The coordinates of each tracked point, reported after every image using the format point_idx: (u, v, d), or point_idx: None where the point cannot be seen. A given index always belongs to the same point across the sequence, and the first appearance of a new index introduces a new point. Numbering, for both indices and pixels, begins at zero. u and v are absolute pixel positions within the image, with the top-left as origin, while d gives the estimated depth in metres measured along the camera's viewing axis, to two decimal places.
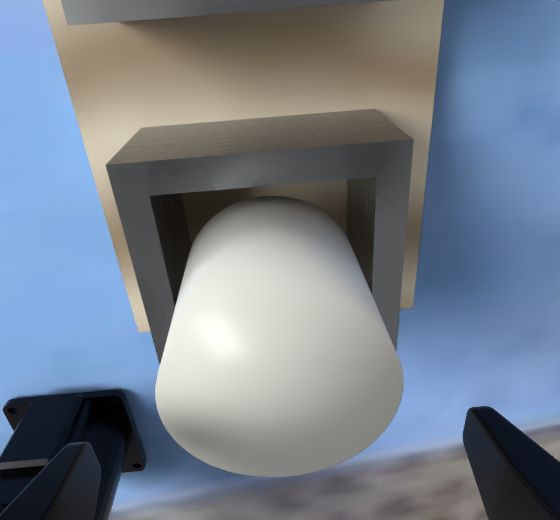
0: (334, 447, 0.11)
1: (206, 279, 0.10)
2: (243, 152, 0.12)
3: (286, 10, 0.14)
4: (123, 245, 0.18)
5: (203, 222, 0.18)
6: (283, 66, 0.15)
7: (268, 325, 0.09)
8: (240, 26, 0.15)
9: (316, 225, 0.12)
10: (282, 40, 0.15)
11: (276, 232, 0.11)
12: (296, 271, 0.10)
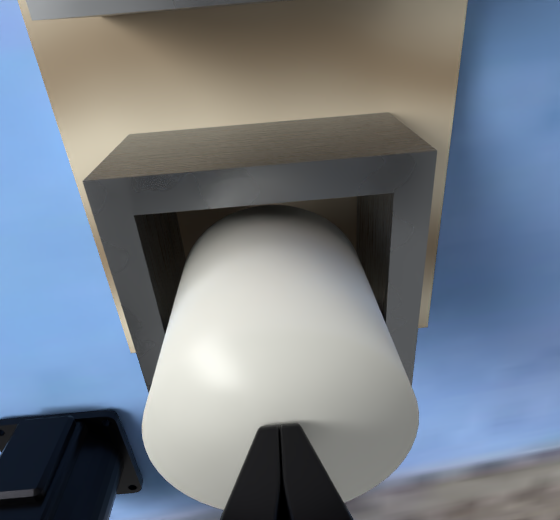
0: (341, 485, 0.10)
1: (199, 302, 0.09)
2: (241, 166, 0.11)
3: (290, 2, 0.13)
4: None
5: (199, 236, 0.16)
6: (287, 65, 0.14)
7: (268, 358, 0.08)
8: (238, 20, 0.13)
9: (322, 239, 0.11)
10: (285, 36, 0.13)
11: (277, 248, 0.10)
12: (298, 296, 0.08)
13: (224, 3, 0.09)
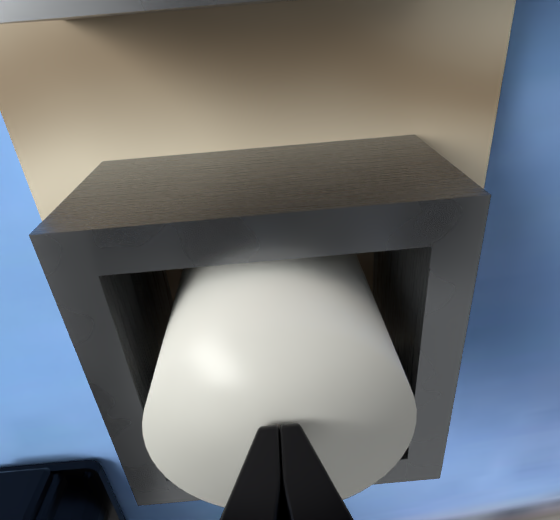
0: (340, 483, 0.10)
1: (199, 300, 0.09)
2: (236, 215, 0.08)
3: (297, 2, 0.10)
4: None
5: None
6: (293, 79, 0.11)
7: (266, 355, 0.08)
8: (233, 25, 0.11)
9: None
10: (291, 44, 0.11)
11: None
12: (297, 294, 0.09)
13: (211, 3, 0.06)
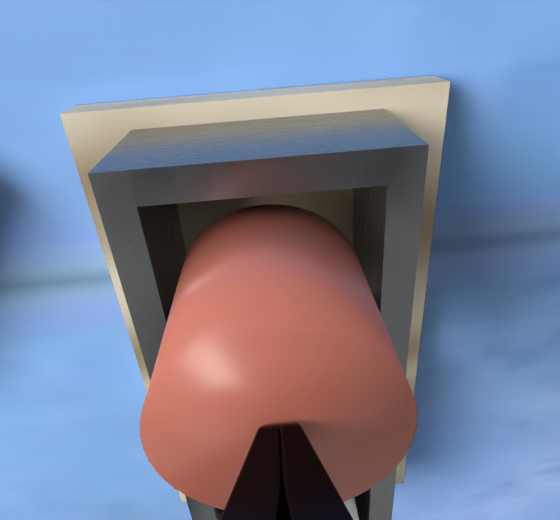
0: None
1: None
2: None
3: None
4: None
5: None
6: None
7: None
8: None
9: None
10: None
11: None
12: None
13: None
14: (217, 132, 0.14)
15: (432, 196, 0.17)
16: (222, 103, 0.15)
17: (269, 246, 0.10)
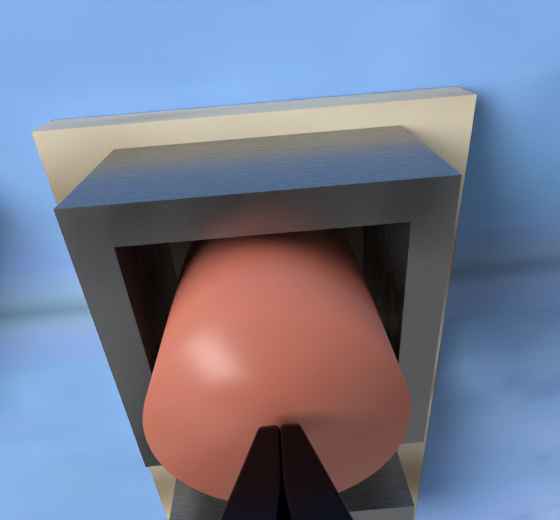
0: None
1: None
2: None
3: None
4: (166, 490, 0.21)
5: None
6: None
7: None
8: None
9: None
10: None
11: None
12: None
13: None
14: (211, 154, 0.12)
15: None
16: (217, 119, 0.13)
17: (268, 243, 0.10)
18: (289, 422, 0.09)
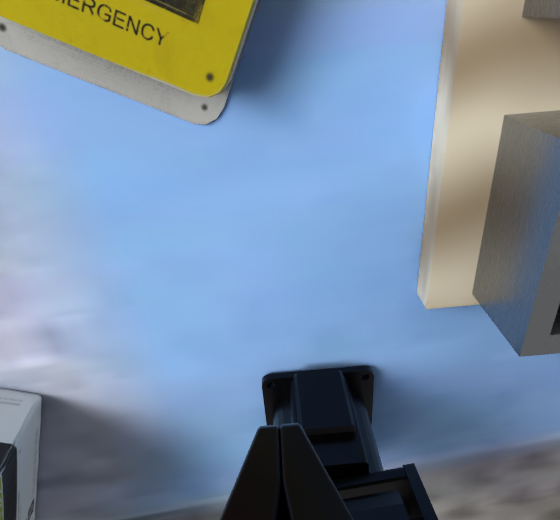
0: None
1: None
2: None
3: None
4: (445, 225, 0.20)
5: None
6: None
7: None
8: None
9: None
10: None
11: None
12: None
13: None
14: None
15: None
16: None
17: None
18: None
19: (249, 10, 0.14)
